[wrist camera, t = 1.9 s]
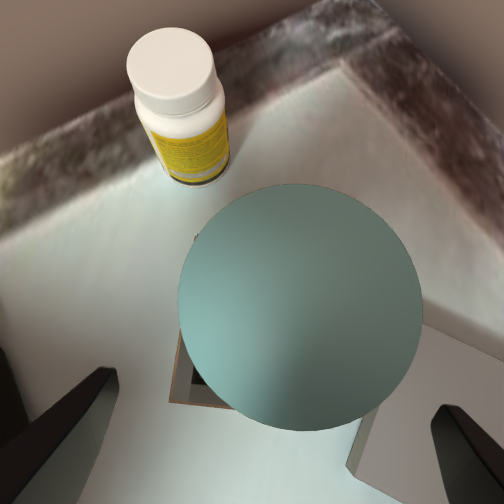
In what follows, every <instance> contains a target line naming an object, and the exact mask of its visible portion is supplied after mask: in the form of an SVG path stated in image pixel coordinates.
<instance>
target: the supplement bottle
mask: <svg viewBox="0 0 504 504" xmlns="http://www.w3.org/2000/svg"><path fill="white" fill-rule="evenodd" d="M127 72H128V76H129V78H130V81H131V83H132V86H133V88H134V91H135V107H136V111H137V114H138V117H139V119H140V121H141V123H142V125H143V127H144V129H145V131H146V133H147V135H148V137H149V140H150V142H151V144H152V146H153V148H154V150H155V152H156V154H157V156H158V158H159V160H160V162H161V164H162V167H163V169H164V171H165V172H166V174H167V175H168V176H169V177H170V178H171V179H172V180H173V181H174V182H176V183H177V184H179V185H181V186H184V187H188V188H203V187H206V186H209V185H211V184H213V183H215V182H216V181H218V180H219V179H220V178H221V177H222V176H223V175H224V173H225V172H226V170H227V168H228V165H229V161H230V149H229V137H228V126H227V114H226V102H225V95H224V90H223V87H222V84H221V83H220V81H219V79H218V78H217V74H216V70H215V66H214V60H213V55H212V52H211V50H210V48H209V46H208V45H207V43H206V42H205V41H204V40H203V39H202V38H201V37H200V36H198V35H197V34H195V33H193V32H191V31H189V30H185V29H181V28H162V29H158V30H155V31H152V32H150V33H148V34H146V35H144V36H143V37H142V38H140V39H139V40H138V41H137V42H136V43H135V44H134V46H133V47H132V48H131V50H130V52H129V55H128V58H127Z"/></svg>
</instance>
